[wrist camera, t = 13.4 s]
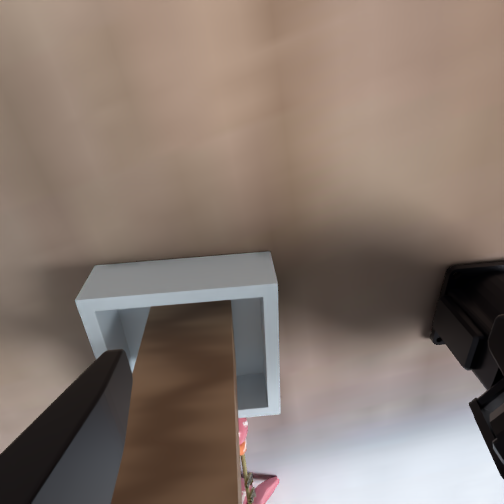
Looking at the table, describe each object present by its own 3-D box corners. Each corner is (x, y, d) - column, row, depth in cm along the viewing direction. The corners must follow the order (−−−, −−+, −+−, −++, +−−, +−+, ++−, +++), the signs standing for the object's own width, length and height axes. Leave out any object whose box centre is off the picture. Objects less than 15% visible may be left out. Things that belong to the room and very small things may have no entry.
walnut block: (230, 298, 23) (239, 537, 12) (235, 356, 26) (246, 599, 14) (151, 304, 23) (83, 552, 12) (163, 362, 26) (117, 613, 14)
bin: (270, 251, 23) (277, 283, 19) (274, 373, 28) (280, 414, 25) (94, 265, 22) (74, 300, 19) (132, 386, 27) (120, 429, 24)
